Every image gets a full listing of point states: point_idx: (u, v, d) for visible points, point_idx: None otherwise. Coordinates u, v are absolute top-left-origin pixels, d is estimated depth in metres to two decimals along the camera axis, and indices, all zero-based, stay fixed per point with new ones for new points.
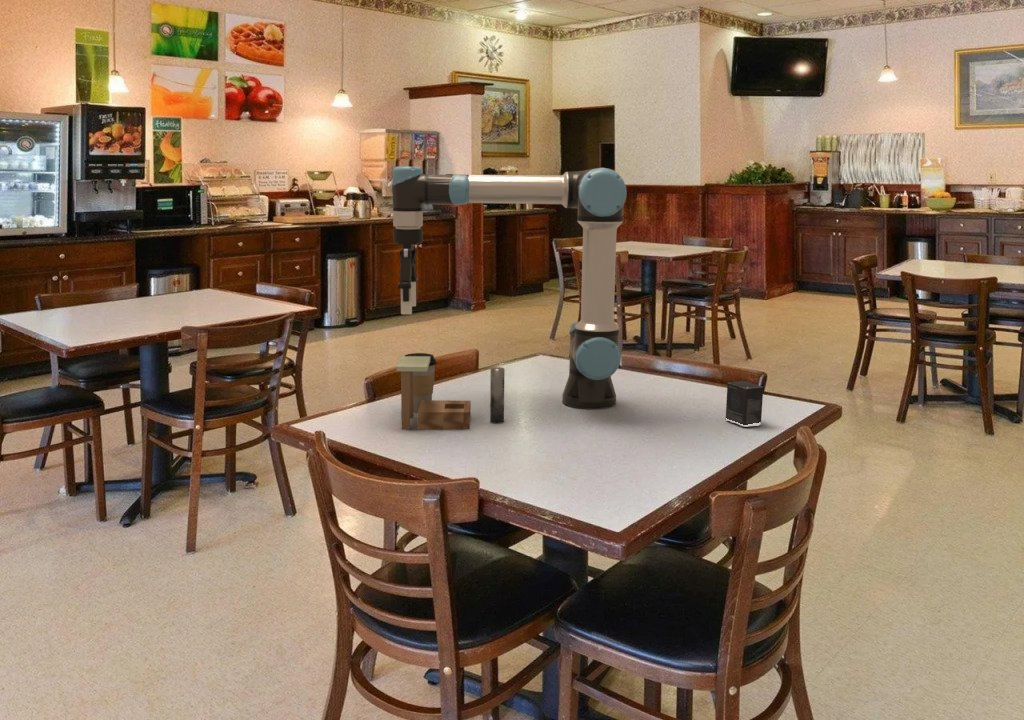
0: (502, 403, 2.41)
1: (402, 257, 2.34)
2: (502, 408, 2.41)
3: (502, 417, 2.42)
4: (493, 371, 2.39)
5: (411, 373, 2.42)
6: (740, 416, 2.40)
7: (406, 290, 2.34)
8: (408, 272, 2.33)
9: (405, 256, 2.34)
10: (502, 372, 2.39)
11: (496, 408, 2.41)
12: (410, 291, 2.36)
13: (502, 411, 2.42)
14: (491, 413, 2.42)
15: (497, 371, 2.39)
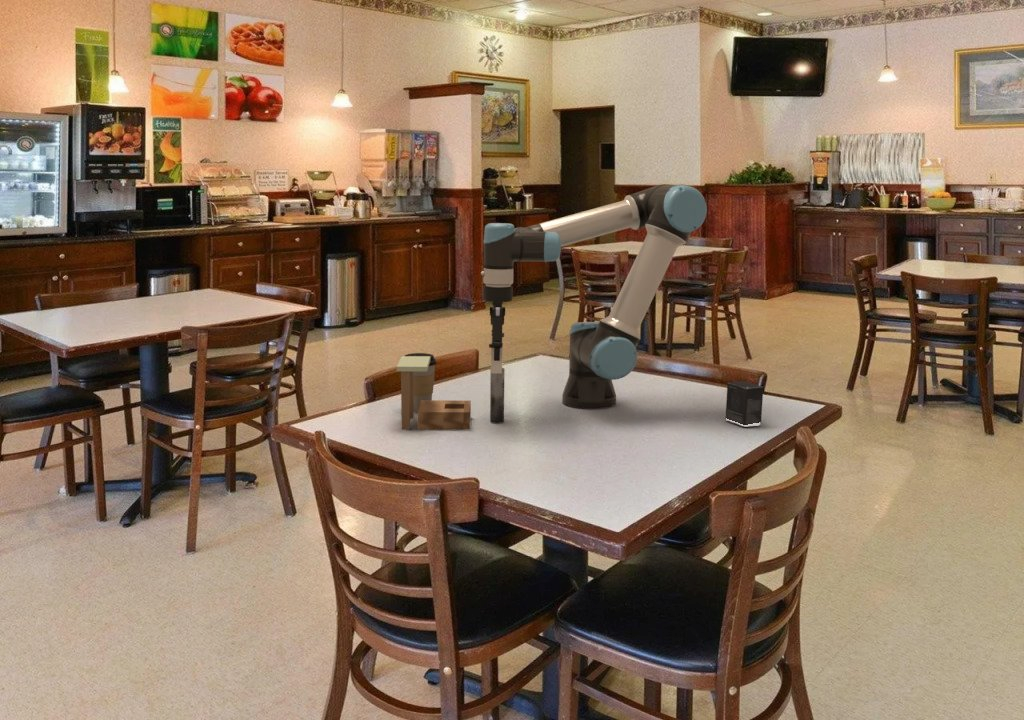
0: (502, 403, 2.41)
1: (494, 316, 2.31)
2: (502, 408, 2.41)
3: (502, 417, 2.42)
4: None
5: (411, 373, 2.42)
6: (740, 416, 2.40)
7: (497, 349, 2.31)
8: (500, 331, 2.30)
9: (497, 315, 2.31)
10: (502, 372, 2.39)
11: (496, 408, 2.41)
12: (501, 350, 2.32)
13: (502, 411, 2.42)
14: (491, 413, 2.42)
15: None
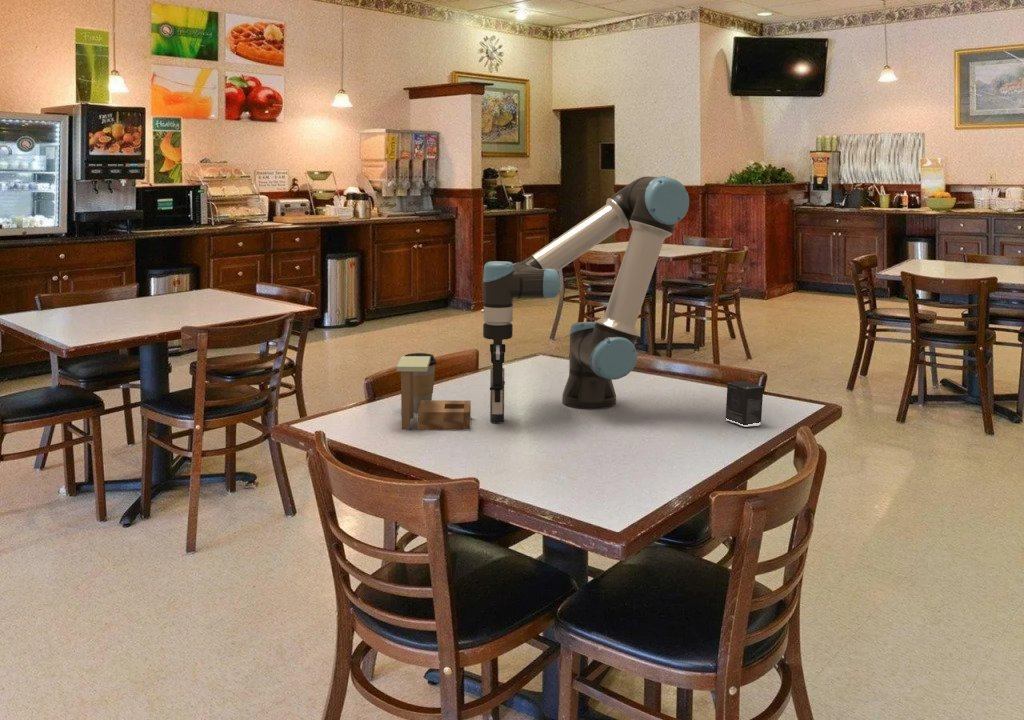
0: None
1: (494, 360, 2.34)
2: None
3: (502, 417, 2.42)
4: None
5: (411, 373, 2.42)
6: (740, 416, 2.40)
7: (498, 391, 2.38)
8: (500, 376, 2.35)
9: (497, 359, 2.34)
10: None
11: None
12: (501, 392, 2.39)
13: None
14: (491, 413, 2.42)
15: None
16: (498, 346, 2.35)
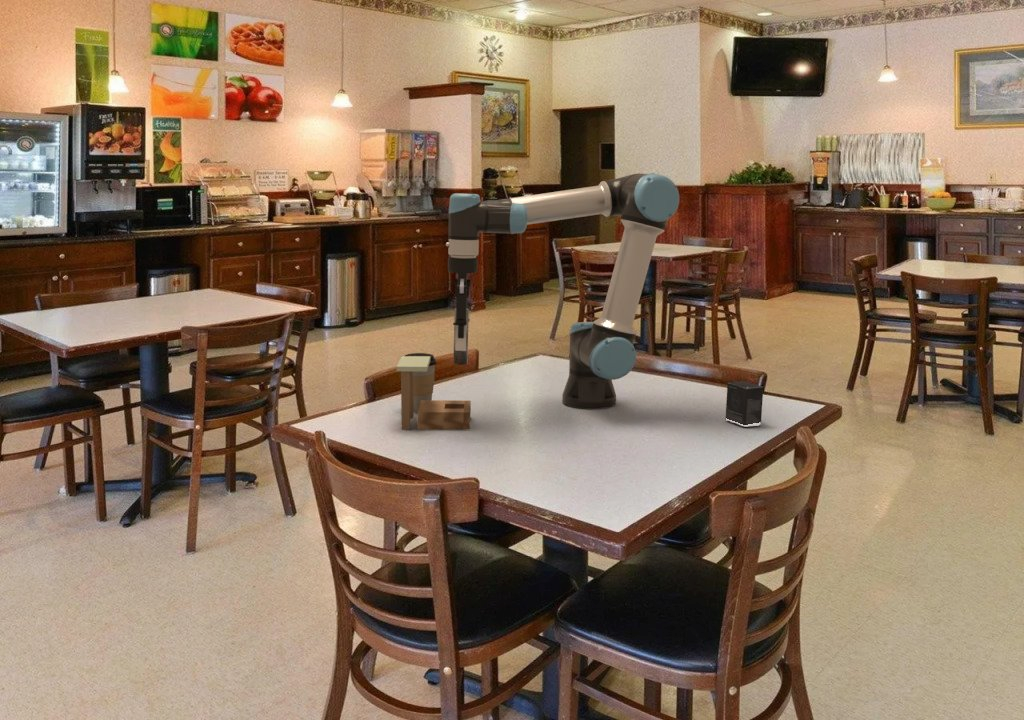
0: (466, 344, 2.36)
1: (458, 294, 2.29)
2: (466, 349, 2.36)
3: (465, 359, 2.37)
4: None
5: (411, 373, 2.42)
6: (740, 416, 2.40)
7: (461, 327, 2.33)
8: (464, 310, 2.30)
9: (461, 292, 2.29)
10: (466, 312, 2.34)
11: None
12: (465, 328, 2.34)
13: (465, 352, 2.37)
14: (454, 354, 2.37)
15: None
16: (462, 280, 2.30)
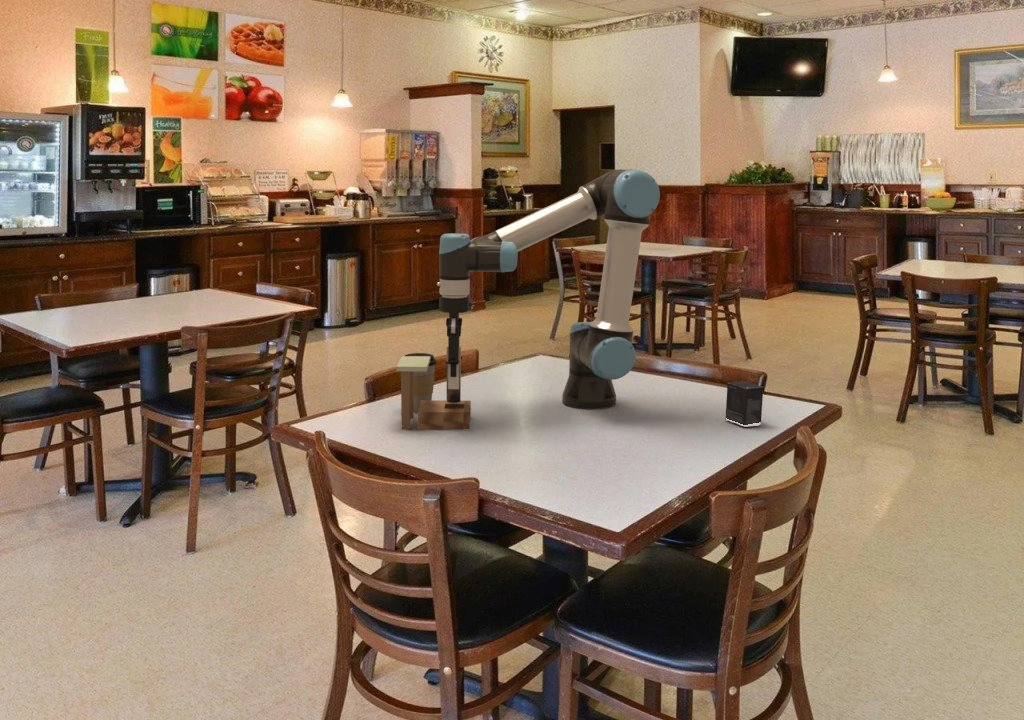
0: None
1: (449, 334, 2.30)
2: None
3: (458, 397, 2.39)
4: None
5: (411, 373, 2.42)
6: (740, 416, 2.40)
7: (454, 366, 2.34)
8: (456, 349, 2.31)
9: (452, 332, 2.30)
10: None
11: None
12: (457, 366, 2.36)
13: (458, 390, 2.38)
14: (447, 392, 2.38)
15: None
16: (454, 319, 2.32)
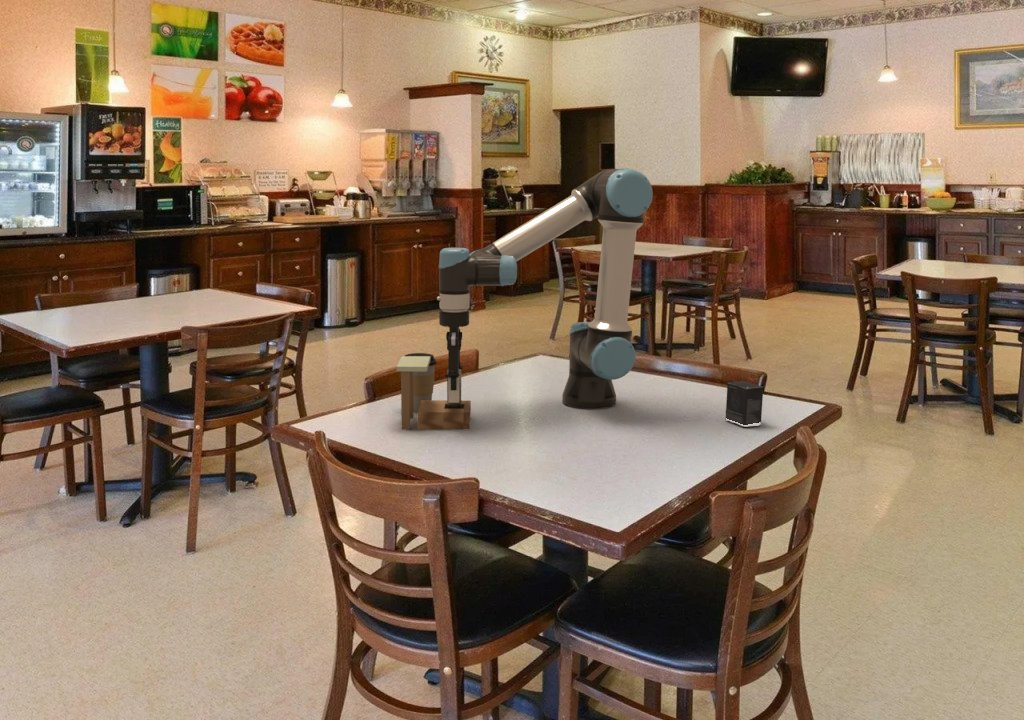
0: (459, 405, 2.39)
1: (450, 346, 2.30)
2: None
3: None
4: None
5: (411, 373, 2.42)
6: (740, 416, 2.40)
7: (454, 379, 2.33)
8: (456, 362, 2.31)
9: (453, 345, 2.31)
10: (459, 373, 2.37)
11: None
12: (458, 380, 2.34)
13: None
14: None
15: None
16: (454, 333, 2.33)
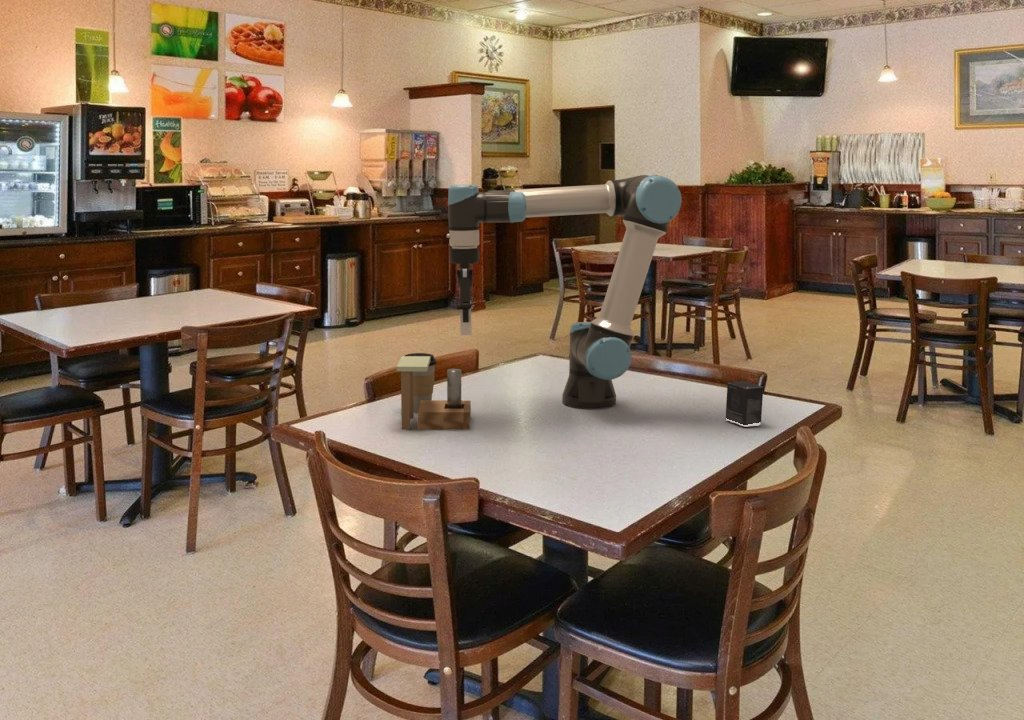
0: (459, 405, 2.39)
1: (461, 277, 2.30)
2: None
3: None
4: (449, 372, 2.37)
5: (411, 373, 2.42)
6: (740, 416, 2.40)
7: (466, 311, 2.30)
8: (468, 293, 2.29)
9: (464, 276, 2.30)
10: (459, 373, 2.37)
11: None
12: (470, 312, 2.31)
13: None
14: None
15: (453, 372, 2.37)
16: (465, 269, 2.33)
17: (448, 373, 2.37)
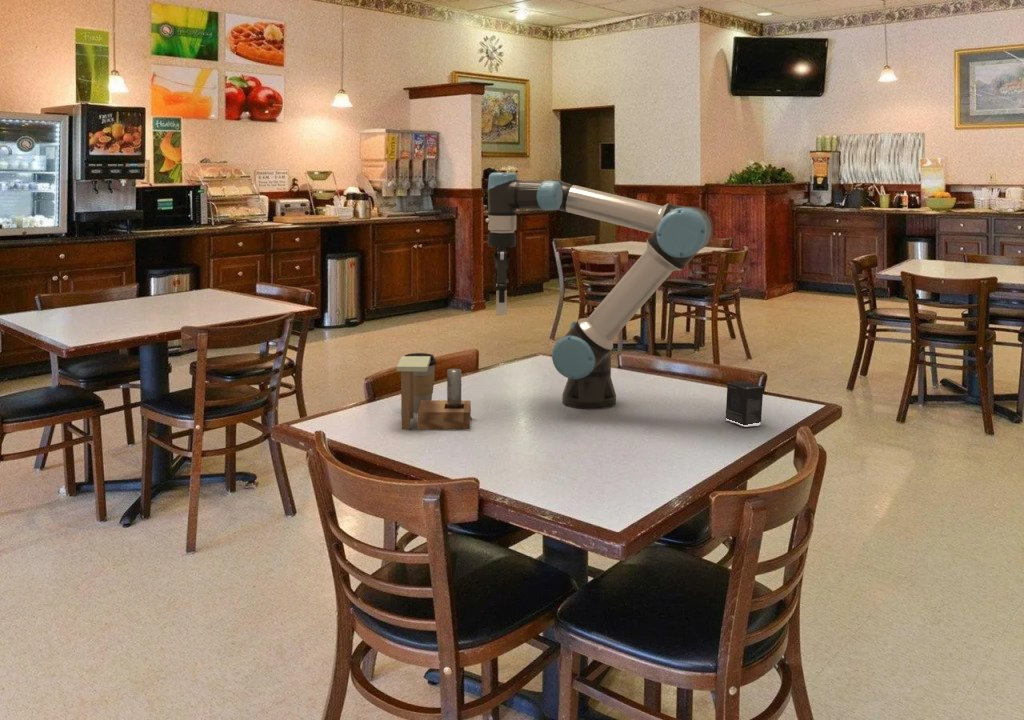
0: (459, 405, 2.39)
1: (498, 260, 2.43)
2: None
3: None
4: (449, 372, 2.37)
5: (411, 373, 2.42)
6: (740, 416, 2.40)
7: (502, 292, 2.43)
8: (505, 274, 2.42)
9: (501, 259, 2.43)
10: (459, 373, 2.37)
11: None
12: (505, 292, 2.44)
13: None
14: None
15: (453, 372, 2.37)
16: (502, 252, 2.46)
17: (448, 373, 2.37)
